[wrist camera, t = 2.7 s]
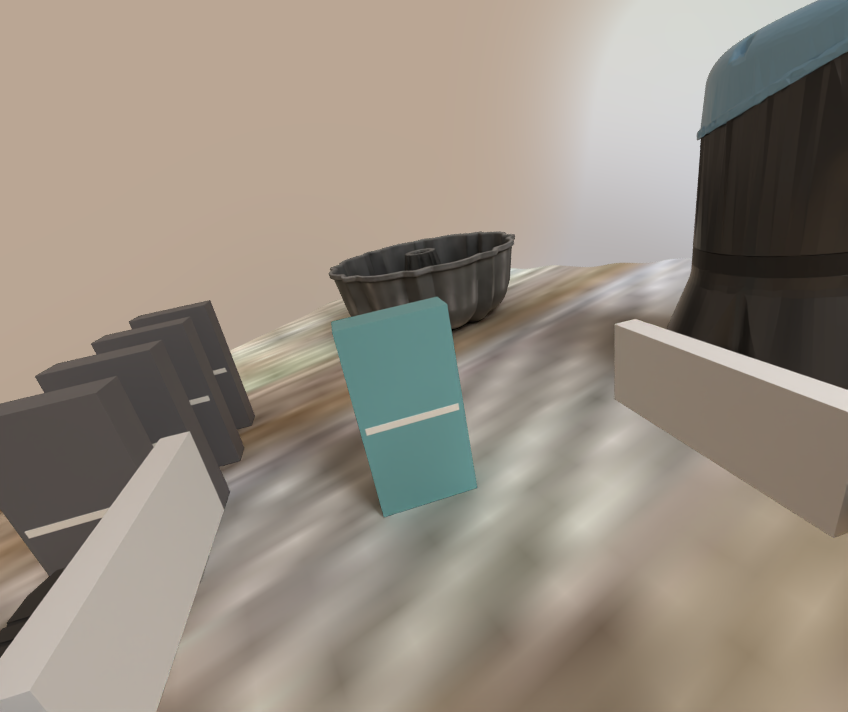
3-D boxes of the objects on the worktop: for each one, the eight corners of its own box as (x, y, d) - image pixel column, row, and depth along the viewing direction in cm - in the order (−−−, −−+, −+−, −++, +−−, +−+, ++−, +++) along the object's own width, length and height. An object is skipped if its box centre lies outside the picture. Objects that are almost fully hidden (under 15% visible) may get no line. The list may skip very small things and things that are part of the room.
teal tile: (466, 468, 27) (436, 296, 23) (477, 488, 26) (447, 304, 21) (379, 495, 27) (331, 321, 22) (384, 517, 25) (331, 332, 20)
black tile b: (230, 491, 30) (161, 339, 25) (223, 510, 28) (148, 350, 24) (143, 516, 29) (56, 363, 25) (130, 538, 27) (34, 376, 23)
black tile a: (209, 554, 24) (117, 375, 20) (199, 584, 22) (95, 393, 18) (101, 588, 24) (-21, 408, 19) (81, 622, 22) (-59, 430, 17)
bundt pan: (491, 353, 45) (480, 262, 41) (308, 351, 57) (286, 281, 53) (537, 287, 66) (533, 223, 63) (397, 296, 78) (386, 243, 74)
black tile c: (244, 447, 35) (190, 316, 31) (240, 461, 34) (181, 323, 29) (171, 467, 35) (105, 335, 30) (162, 482, 33) (90, 343, 28)
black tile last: (254, 415, 41) (210, 300, 36) (251, 425, 39) (204, 305, 35) (192, 431, 40) (138, 315, 36) (185, 443, 38) (128, 321, 34)
